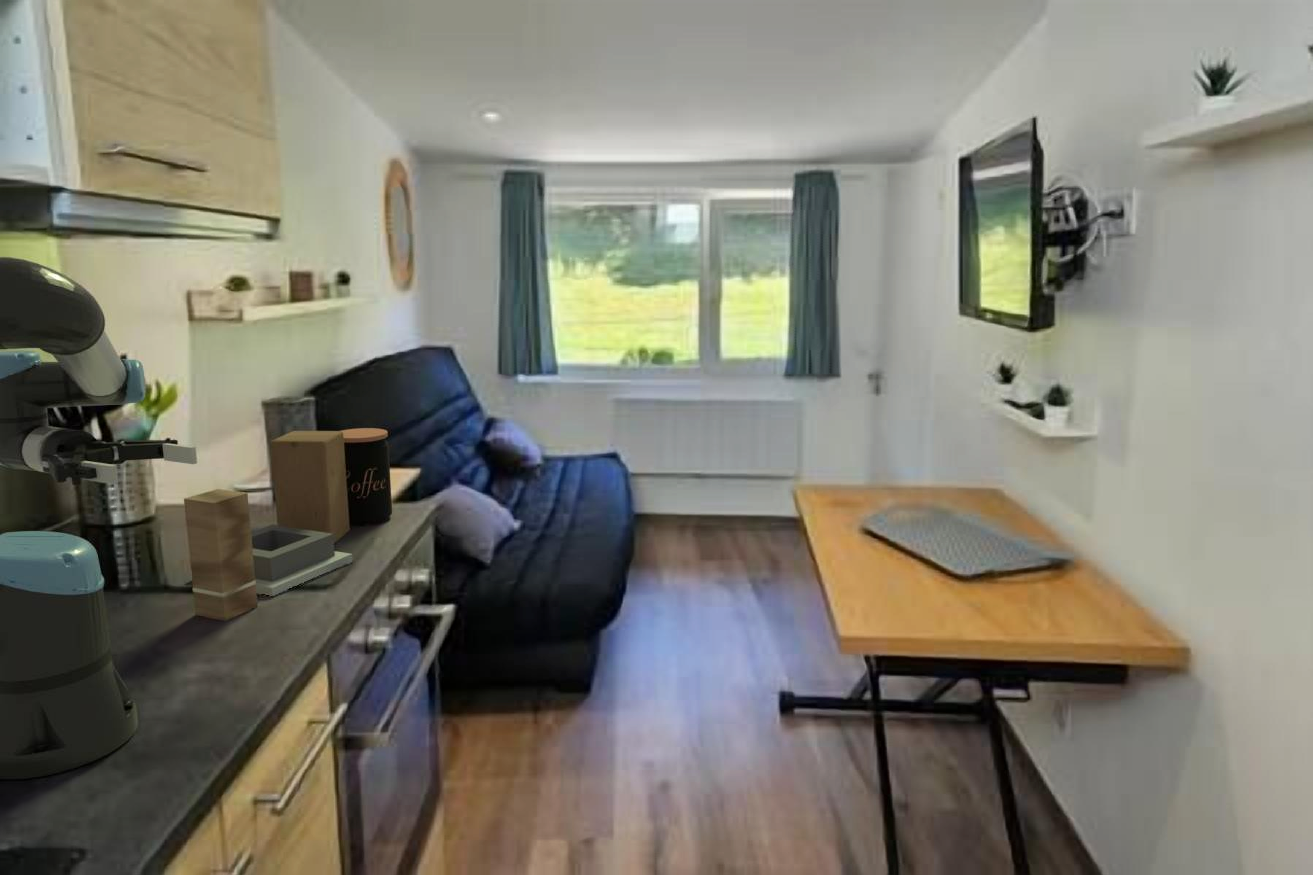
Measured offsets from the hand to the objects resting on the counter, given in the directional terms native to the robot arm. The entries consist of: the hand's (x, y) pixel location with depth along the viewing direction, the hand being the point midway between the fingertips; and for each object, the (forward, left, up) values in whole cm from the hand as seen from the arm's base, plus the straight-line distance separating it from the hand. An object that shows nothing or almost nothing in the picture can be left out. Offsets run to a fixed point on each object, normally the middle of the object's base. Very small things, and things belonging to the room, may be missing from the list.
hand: (156, 464), depth 137 cm
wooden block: (+32, +1, -22) cm, 39 cm away
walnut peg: (-1, -13, -21) cm, 25 cm away
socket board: (+15, -6, -21) cm, 27 cm away
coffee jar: (+46, +1, -22) cm, 51 cm away
